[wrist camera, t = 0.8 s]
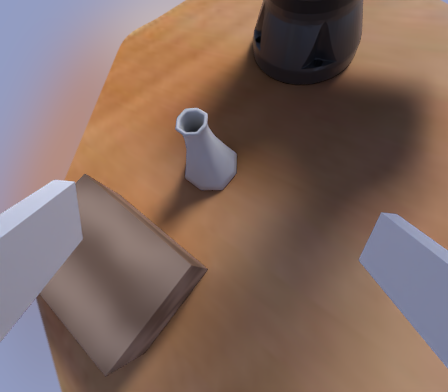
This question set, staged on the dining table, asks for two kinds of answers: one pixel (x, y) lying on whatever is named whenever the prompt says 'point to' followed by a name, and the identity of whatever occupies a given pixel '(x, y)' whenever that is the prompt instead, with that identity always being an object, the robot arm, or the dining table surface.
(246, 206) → the dining table surface
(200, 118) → the flask
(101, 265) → the walnut block
